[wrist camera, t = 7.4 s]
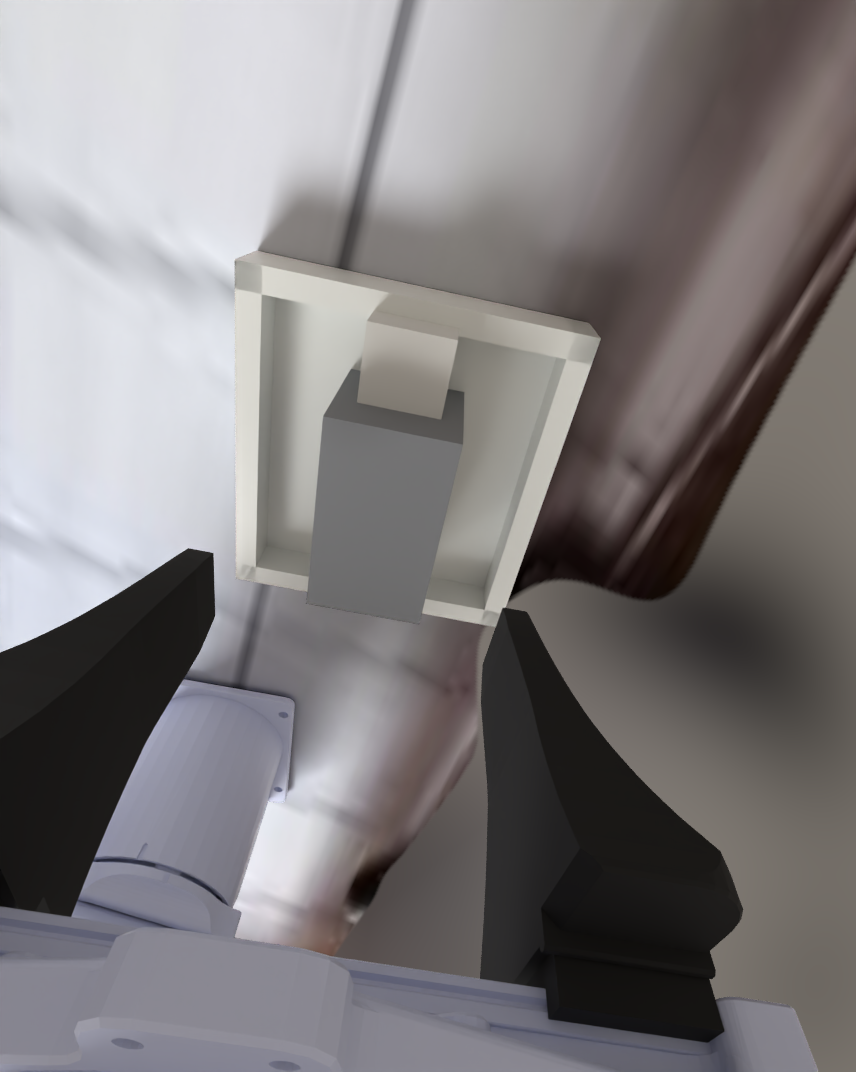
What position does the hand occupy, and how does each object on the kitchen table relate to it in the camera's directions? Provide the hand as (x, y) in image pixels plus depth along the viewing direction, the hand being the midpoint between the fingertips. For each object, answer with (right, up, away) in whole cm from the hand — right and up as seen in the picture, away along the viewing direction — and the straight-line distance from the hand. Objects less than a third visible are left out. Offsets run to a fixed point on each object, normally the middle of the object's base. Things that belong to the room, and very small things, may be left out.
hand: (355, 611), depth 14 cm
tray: (+1, +5, +8) cm, 9 cm away
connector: (+1, +5, +7) cm, 9 cm away
